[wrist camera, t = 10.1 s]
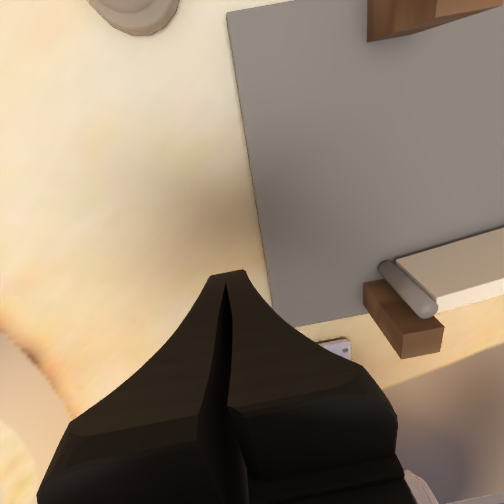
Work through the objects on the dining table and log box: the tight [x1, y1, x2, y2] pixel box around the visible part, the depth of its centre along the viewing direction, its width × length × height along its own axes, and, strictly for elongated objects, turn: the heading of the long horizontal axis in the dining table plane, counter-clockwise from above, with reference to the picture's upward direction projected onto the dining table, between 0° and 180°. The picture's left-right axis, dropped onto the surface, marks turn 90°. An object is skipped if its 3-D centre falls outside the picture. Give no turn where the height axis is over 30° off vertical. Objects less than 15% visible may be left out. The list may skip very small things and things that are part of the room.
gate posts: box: [363, 0, 503, 359], centre depth 16 cm, size 19×2×6 cm, turn 9°
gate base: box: [226, 0, 504, 328], centre depth 19 cm, size 20×22×1 cm
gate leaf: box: [379, 228, 504, 319], centre depth 19 cm, size 13×2×5 cm, turn 106°
